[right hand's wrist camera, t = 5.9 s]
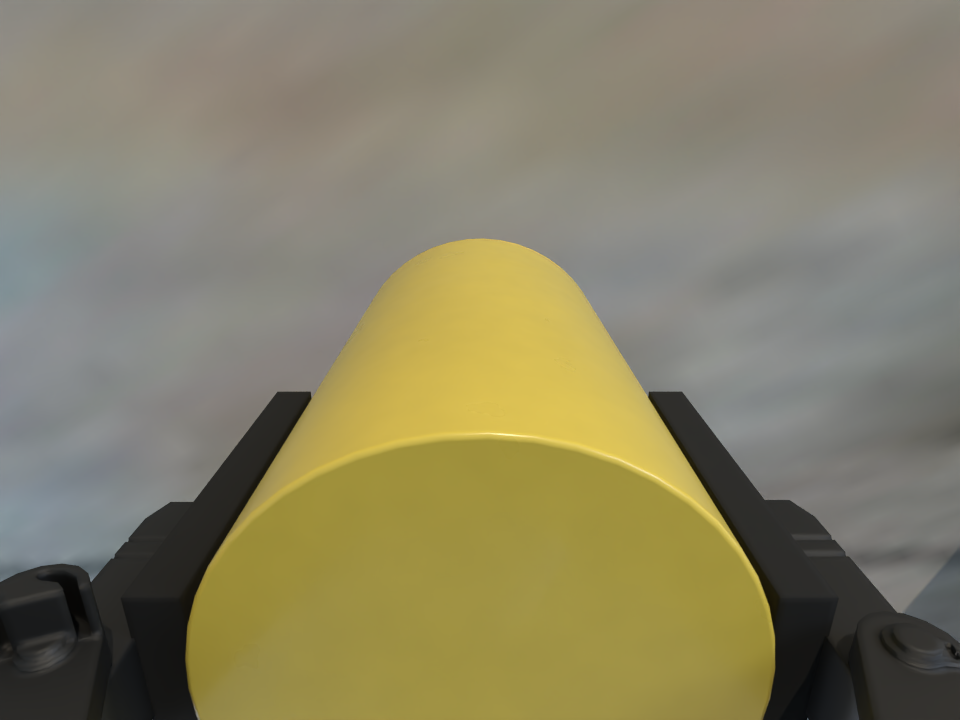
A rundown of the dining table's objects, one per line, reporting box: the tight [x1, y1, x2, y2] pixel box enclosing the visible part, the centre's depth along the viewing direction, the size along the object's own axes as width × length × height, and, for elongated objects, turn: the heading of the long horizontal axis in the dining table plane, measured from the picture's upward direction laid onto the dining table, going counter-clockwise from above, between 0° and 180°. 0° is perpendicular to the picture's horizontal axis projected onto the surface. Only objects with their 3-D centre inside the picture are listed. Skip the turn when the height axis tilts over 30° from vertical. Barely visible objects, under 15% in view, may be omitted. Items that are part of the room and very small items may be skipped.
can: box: [185, 239, 775, 720], centre depth 14 cm, size 8×8×12 cm
